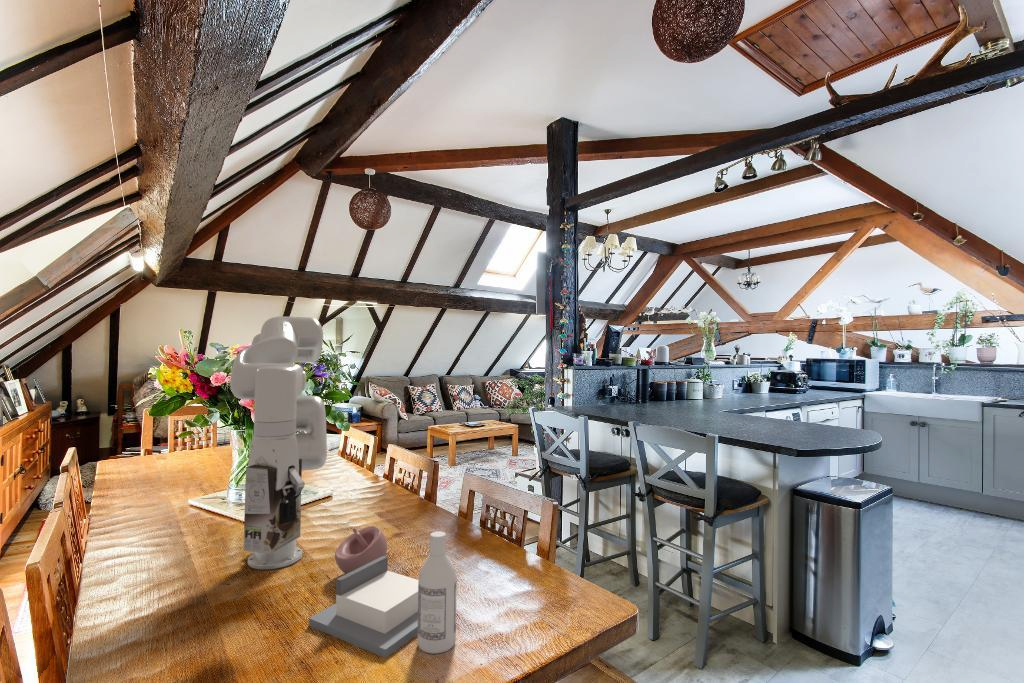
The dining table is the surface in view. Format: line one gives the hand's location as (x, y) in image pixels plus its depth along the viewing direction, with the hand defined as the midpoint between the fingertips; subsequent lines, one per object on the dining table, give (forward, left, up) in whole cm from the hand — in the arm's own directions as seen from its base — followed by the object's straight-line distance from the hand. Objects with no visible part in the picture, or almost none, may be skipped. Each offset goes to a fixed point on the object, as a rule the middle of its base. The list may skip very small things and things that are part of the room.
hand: (273, 517), depth 98 cm
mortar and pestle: (-1, +24, -21) cm, 31 cm away
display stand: (+17, +13, -21) cm, 30 cm away
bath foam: (+32, +11, -21) cm, 40 cm away
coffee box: (0, 0, -5) cm, 5 cm away
